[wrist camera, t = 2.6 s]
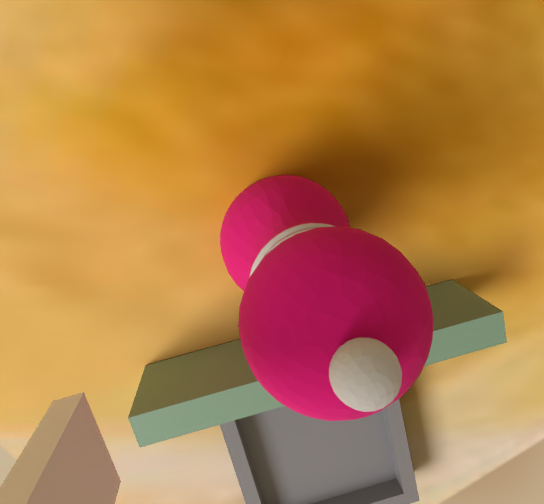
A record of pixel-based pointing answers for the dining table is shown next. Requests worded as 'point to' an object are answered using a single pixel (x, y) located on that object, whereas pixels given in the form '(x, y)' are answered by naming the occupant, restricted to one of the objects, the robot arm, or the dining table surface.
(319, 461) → the tray
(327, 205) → the pepper mill
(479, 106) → the dining table surface
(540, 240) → the dining table surface
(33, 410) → the dining table surface
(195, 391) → the board
